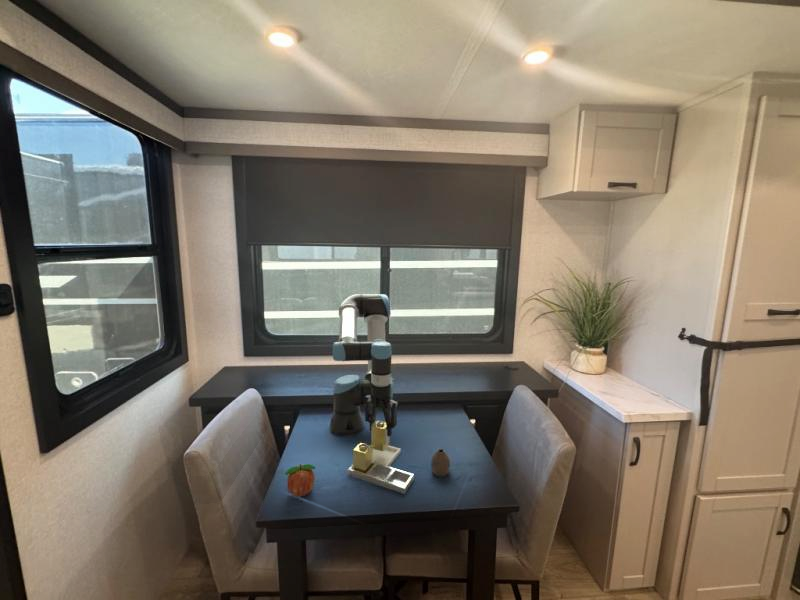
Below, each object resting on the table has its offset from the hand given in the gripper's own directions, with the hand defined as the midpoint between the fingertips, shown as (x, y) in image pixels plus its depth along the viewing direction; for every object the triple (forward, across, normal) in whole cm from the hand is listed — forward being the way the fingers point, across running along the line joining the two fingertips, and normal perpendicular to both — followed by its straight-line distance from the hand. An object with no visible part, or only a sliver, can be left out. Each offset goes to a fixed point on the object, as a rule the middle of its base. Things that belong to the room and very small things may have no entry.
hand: (380, 441), depth 132 cm
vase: (+7, +24, +1) cm, 25 cm away
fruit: (+7, -14, -29) cm, 33 cm away
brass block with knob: (+6, -1, -11) cm, 13 cm away
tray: (+7, 0, 0) cm, 7 cm away
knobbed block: (+2, 0, 0) cm, 2 cm away
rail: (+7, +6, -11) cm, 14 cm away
